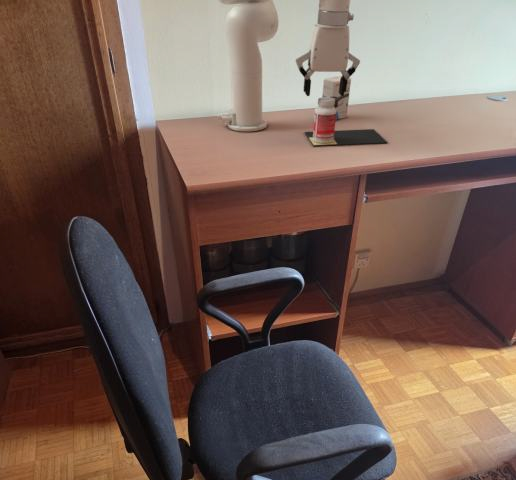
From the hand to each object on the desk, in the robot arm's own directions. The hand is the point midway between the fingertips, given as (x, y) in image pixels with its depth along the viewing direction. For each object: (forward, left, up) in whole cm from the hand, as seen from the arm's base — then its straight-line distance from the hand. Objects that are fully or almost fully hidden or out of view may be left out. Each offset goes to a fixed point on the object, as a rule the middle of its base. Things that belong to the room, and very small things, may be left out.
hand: (324, 94), depth 125 cm
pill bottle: (+1, -1, -12) cm, 12 cm away
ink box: (+10, +24, -13) cm, 29 cm away
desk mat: (+8, +2, -13) cm, 15 cm away
